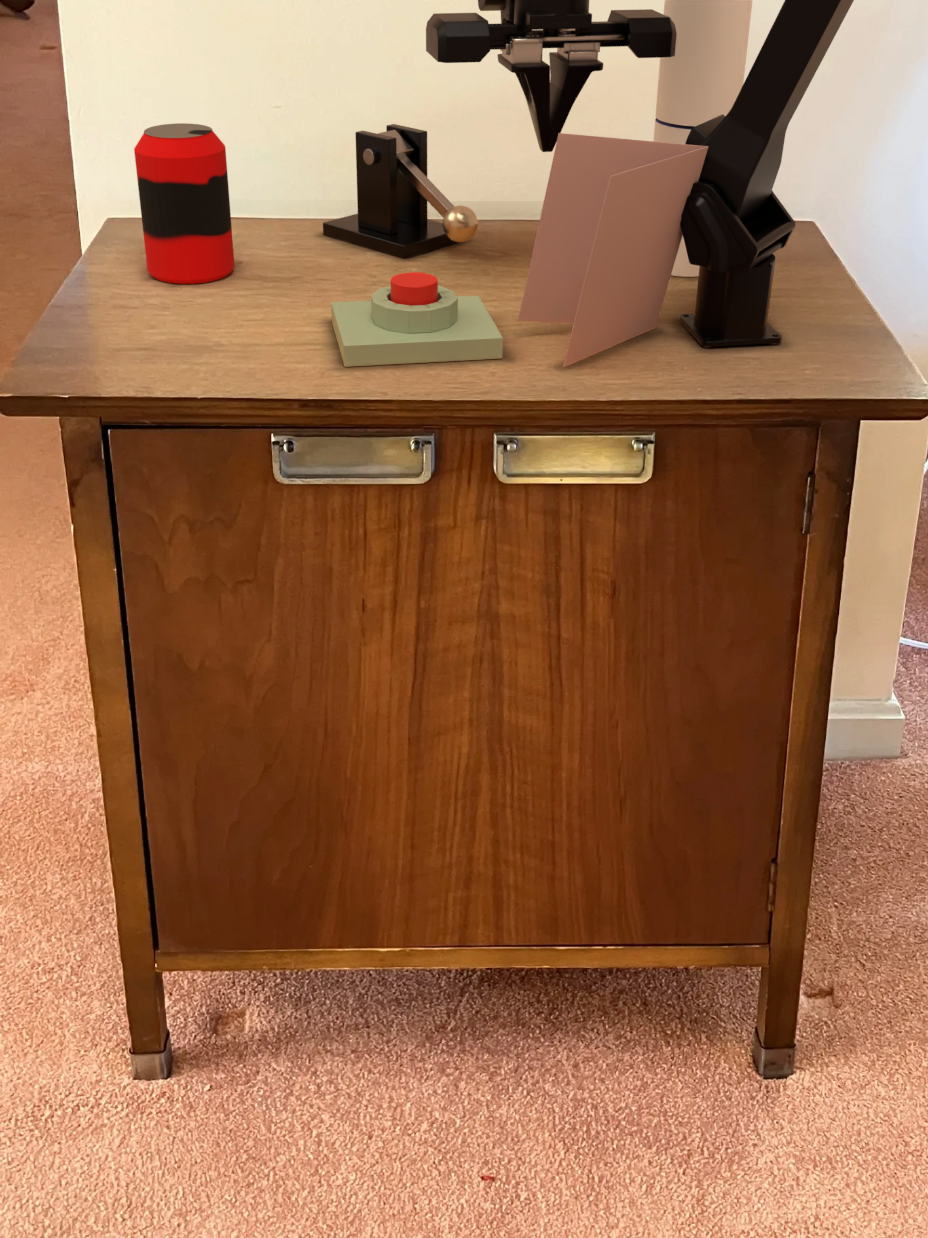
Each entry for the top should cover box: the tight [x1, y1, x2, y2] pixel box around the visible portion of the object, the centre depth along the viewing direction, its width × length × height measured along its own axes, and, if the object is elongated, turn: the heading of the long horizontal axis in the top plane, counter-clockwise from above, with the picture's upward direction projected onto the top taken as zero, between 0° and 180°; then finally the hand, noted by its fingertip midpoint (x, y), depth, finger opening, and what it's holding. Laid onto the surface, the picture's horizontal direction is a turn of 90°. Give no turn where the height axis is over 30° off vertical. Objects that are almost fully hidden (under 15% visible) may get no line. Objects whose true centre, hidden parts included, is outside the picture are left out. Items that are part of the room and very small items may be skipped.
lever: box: [377, 130, 479, 243], centre depth 125 cm, size 13×3×3 cm, turn 47°
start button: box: [390, 271, 439, 306], centre depth 104 cm, size 4×4×2 cm
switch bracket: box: [322, 123, 459, 260], centre depth 128 cm, size 11×8×10 cm
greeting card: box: [517, 132, 708, 368], centre depth 101 cm, size 11×7×15 cm, turn 102°
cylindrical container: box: [653, 0, 753, 278], centre depth 118 cm, size 7×7×25 cm
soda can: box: [133, 122, 235, 285], centre depth 118 cm, size 8×8×12 cm
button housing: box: [330, 284, 504, 368], centre depth 106 cm, size 10×12×4 cm
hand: (546, 150), depth 110 cm, fingers closed
